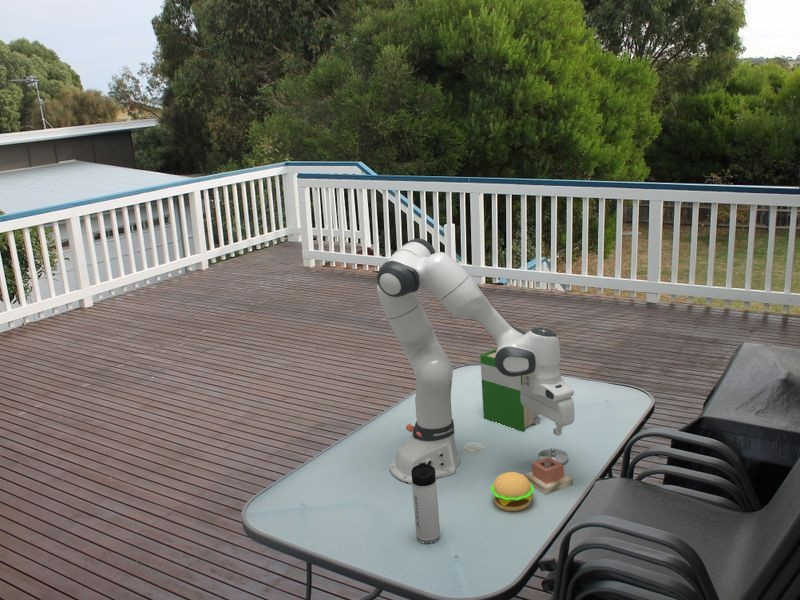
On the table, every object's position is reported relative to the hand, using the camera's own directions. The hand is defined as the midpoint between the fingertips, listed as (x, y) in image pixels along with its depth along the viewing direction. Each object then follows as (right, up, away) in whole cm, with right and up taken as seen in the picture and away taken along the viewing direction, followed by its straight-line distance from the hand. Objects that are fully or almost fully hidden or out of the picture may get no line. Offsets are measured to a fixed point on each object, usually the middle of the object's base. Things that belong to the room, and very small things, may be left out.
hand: (546, 429), depth 213 cm
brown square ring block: (+1, -15, +4) cm, 15 cm away
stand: (+1, -16, +4) cm, 17 cm away
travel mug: (-35, -26, -18) cm, 47 cm away
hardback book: (-4, -6, +47) cm, 47 cm away
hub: (+5, -13, +17) cm, 22 cm away
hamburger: (-11, -20, -5) cm, 23 cm away
